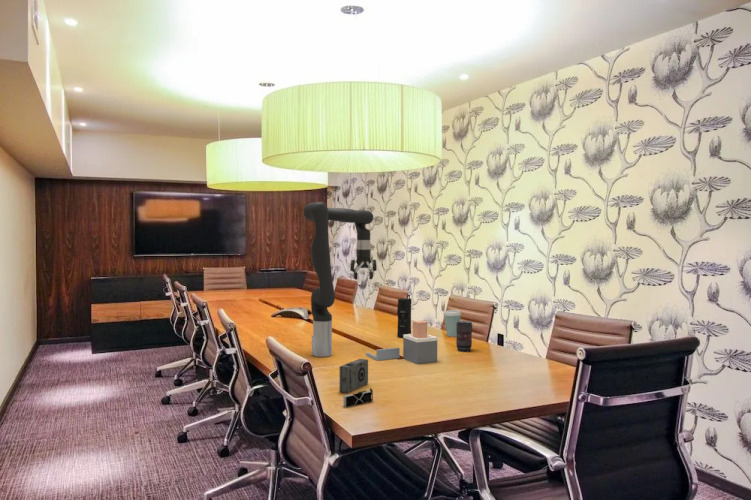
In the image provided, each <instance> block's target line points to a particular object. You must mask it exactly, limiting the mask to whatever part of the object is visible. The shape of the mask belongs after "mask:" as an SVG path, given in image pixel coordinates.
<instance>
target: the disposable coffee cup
mask: <svg viewBox="0 0 751 500" xmlns="http://www.w3.org/2000/svg"><path fill="white" fill-rule="evenodd" d="M461 318H462V312H461V310H458V309H449V310H445V311H444V312H443V319H444V325H445V331H446V335H447V337H449V336H450V337H449V338H455V337H456V338H457V332H456V323H457V321H461Z"/></svg>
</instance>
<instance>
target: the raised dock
mask: <svg viewBox="0 0 751 500" xmlns="http://www.w3.org/2000/svg"><path fill="white" fill-rule="evenodd" d="M402 339H403V341H402V342H403V343H402V344H403V346H402V351H403V352H402V354H403V356H402V358H403V359H404V360H405V361H409V362H411V363H414V364H415V365H416V364H417V365H421V364H429V363H437V362H438V336H434V335H430V334H428V333H427V338H420V339H417V338H414V337H413V333H411V334H405V335H403V338H402Z"/></svg>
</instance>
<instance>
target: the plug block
mask: <svg viewBox="0 0 751 500" xmlns="http://www.w3.org/2000/svg"><path fill="white" fill-rule="evenodd" d="M412 334H413V337H414V338H417V339H420V338H427V334H428V321H426V320H425V321H424V320H413V321H412Z"/></svg>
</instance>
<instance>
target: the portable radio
mask: <svg viewBox="0 0 751 500" xmlns="http://www.w3.org/2000/svg"><path fill="white" fill-rule="evenodd" d="M408 295H409V297H408V298H405V297H400V298H398V299H397V309H396V315H397V333H396V334H397V338H399V337H400V338H402V339H403V335H405V334H412V302H413V301H412V298H411V294H408Z"/></svg>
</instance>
